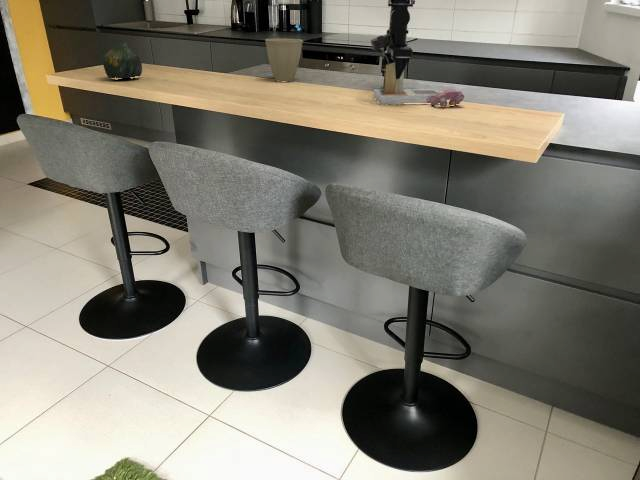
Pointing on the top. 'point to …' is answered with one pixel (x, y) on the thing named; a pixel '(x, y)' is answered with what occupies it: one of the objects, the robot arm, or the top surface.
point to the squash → (122, 62)
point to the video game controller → (448, 97)
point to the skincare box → (393, 81)
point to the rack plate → (405, 96)
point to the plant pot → (284, 57)
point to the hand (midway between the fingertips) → (394, 76)
